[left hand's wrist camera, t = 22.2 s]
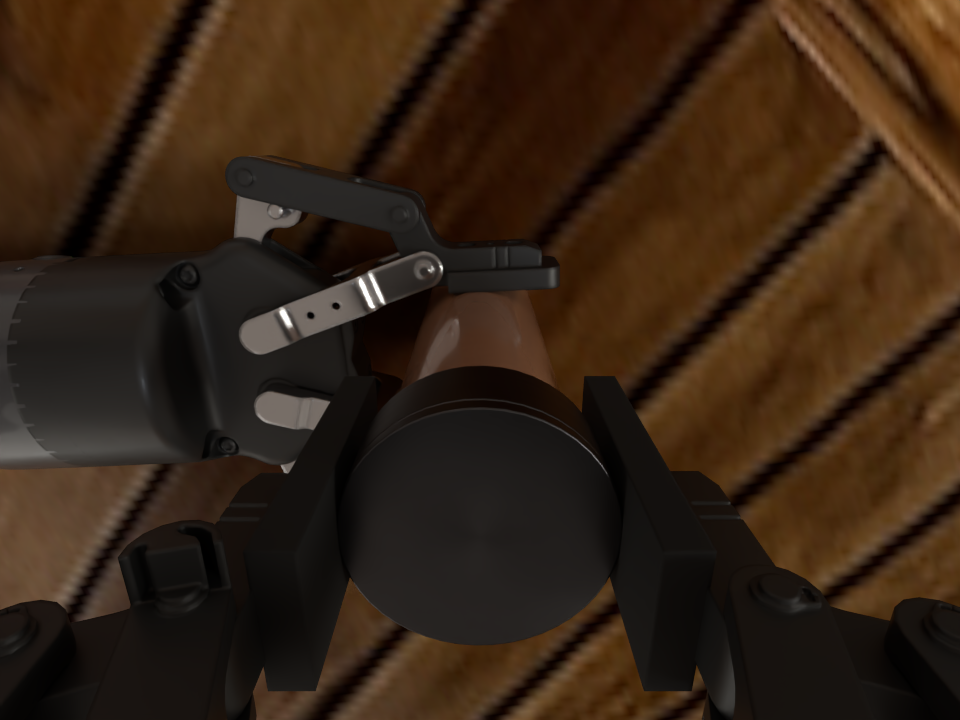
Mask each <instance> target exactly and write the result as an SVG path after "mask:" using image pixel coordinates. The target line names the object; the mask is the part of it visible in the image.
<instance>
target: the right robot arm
mask: <svg viewBox="0 0 960 720" xmlns="http://www.w3.org/2000/svg"><path fill="white" fill-rule="evenodd" d="M225 177H226V182H227V184H228V186H229V188H230V189H231V190H232V191H233V192H234V193H235V194H236V195H237V204H236V217H235V229H234V238H231V239H228V240H225V241H223V242H222V243H220V244H219V245H218V246H216V247H215V248H213V249H212V250H207V251H192V252H173V253H153V254H133V255H113V256H94V257H74V258H72V257H71V256H62V255H48V256H38V257H37V258H33V259H32V260H14V261H3V262H0V469H47V468H71V467H96V466H119V465H140V464H164V463H187V462H201V461H208V460H213V459H217V458H222V457H227V456H233V455H242V456H248V457H251V458H255V459H257V460H260V461H262V462H265V463H267V464H271V465H281V467H282V469H283V471H284V472H285V473H289V472H290V470H291V468H292V466H293V465H294V463H295V461H296V459H297V458H298V456H299V454H300V453H301V451H302V449H303V447H304V446H305V444H306V442H307V441H308V439H309V437H310V435H311V434H312V432H313V430H314V429H315V427H316V425H317V423H318V422H319V420H320V418H321V417H322V415H323V413H324V411H325V410H326V408H327V406H328V405H329V403H330V401H331V399H332V398H333V396H334V394H335V393H336V391H337V389H338V387H339V386H340V384H341V382H342V381H343V379H344V377H345V376H375V380H376V394H377V408H378V412H379V411H380V409H381V408H382V407H383V406H384V405H385V404H386V403H387V402H388V401H389V400H390V399H391V398H392V397H393V396H395V395H396V394H397V393H399V391H400V388H401V385H402V382H403V381H402V380H401V379H400V378H398V377H395V376H392V375H388V374H384V373H380V372H375V371H372V369H371V361H370V358H369V356H368V353H367V351H366V348H365V346H364V344H363V333H364V326H365V315H367V314H369V313H372V312H374V311H376V310H377V309H379V308H381V307H382V306H384V305H386V304H388V303H391V302H394V301H396V300H399V299H402V298H404V297H407V296H410V295H412V294H415V293H418V292H421V291H423V290H426V289H429V288H431V287H433V286H448V294H457V293H472V292H497V291H517V290H537V289H552V288H556V287H559V286H560V265H559V263H558V262H557V260H556V259H555V257H552V256H542V255H541V249H540V248H539V246H538V244H536V243H533V242H531V241H528V240H525V239H510V240H495V241H493V240H491V241H471V242H449V241H446V240H444V239H443V238H441V237H440V236H439V235H438V234H437V233H436V231H435V229H434V228H433V225H432V223H431V221H430V219H429V216H428V214H427V212H426V204H425V201H424V199H423V197H422V196H421V194H419V193H418V192H417V191H415V190H412V189H408V188H404V187H400V186H396V185H392V184H388V183H383V182H379V181H375V180H371V179H367V178H363V177H359V176H355V175H351V174H347V173H342V172H338V171H334V170H330V169H326V168H322V167H318V166H314V165H310V164H306V163H301V162H297V161H293V160H289V159H285V158H281V157H277V156H272V155H267V156H246V157H237V158H235V159H233V160H231V161H230V162H229V164H228V165H227V168H226V172H225ZM308 213H311V214H315V215H319V216H323V217H327V218H332V219H336V220H340V221H344V222H349V223H353V224H357V225H361V226H365V227H370V228H374V229H378V230H382V231H387V232H389V233H390V235H391V237H392V239H393V241H394V243H395V246H396V248H397V250H398V251H396V252H394V253H391V254H388V255H386V256H383V257H377V258H374V259H371V260H368V261H366V262H363V263H361V264H358V265H355V266H353V267H350V268H347V269H345V270H342V271H340V272H337V273H334V274H332V275H331V274H329V273H328V272H326V271H324V270H323V269H321V268H319V267H318V266H316V265H314V264H313V263H311V262H310V261H308V260H306V259H305V258H303V257H301V256H300V255H298V254H296V253H295V252H293V251H291V250H290V249H288V248H286V247H285V246H283V245H282V244H280V243H278V242H277V241H275V240H273V239H272V238H271V236H272V233H273V231H274V230H275V229H276V228H278V227H279V228H289V227H292V226H294V225H296V224H299V223H301V222H302V221H304V220H305V219H306V217H307V215H308Z"/></svg>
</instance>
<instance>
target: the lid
mask: <svg viewBox="0 0 960 720" xmlns="http://www.w3.org/2000/svg"><path fill="white" fill-rule="evenodd" d="M622 528H623V516H622V507H621V504H620V500H619V496H618V492H617V490H616V487H615V485H614V482H613V480H612V477H611V475H610V472H609V470H608V467H607V465H606V462H605V460H604V457H603V455H602V452H601V449H600V447H599V444H598V442H597V440H596V437H595V435H594V433H593V430H592V428H591V426H590V425H589V423H588V422H587V420H586V418H585V417H584V415H583V414H582V413H581V412H580V410H579V409H578V408H577V407H576V406H575V404H574V403H573V402H572V401H570V400H569V399H568V398H567V397H566V396H565V395H564V394H563V393H561V392H560V391H558V390H557V389H555V388H554V387H552V386H551V385H550V384H548V383H546V382H544V381H542V380H540V379H538V378H536V377H534V376H531V375H528V374H525V373H523V372H520V371H516V370H512V369H507V368H502V367H493V366H465V367H458V368H452V369H447V370H444V371H440V372H437V373H433V374H431V375H429V376H426V377H424V378H422V379H419V380H417V381H415V382H414V383H412V384H410V385H409V386H407V387H405V388H404V389H402V390H401V391H400V392H399V393H397V394H396V395H395V396H393V397H392V398H391V399H390V400H389V401H388V402H387V403H386V404H385V405H384V406H383V407H382V408H381V409H380V411H379V412H378V414H377V415H376V416H375V418H374V419H373V420H372V422H371V424H370V426H369V428H368V430H367V432H366V433H365V436H364V438H363V441H362V443H361V446H360V448H359V451H358V453H357V456H356V458H355V461H354V463H353V466H352V468H351V471H350V473H349V476H348V478H347V481H346V483H345V486H344V489H343V492H342V495H341V498H340V500H339V506H338V512H337V532H338V541H339V550H340V554H341V557H342V560H343V563H344V565H345V567H346V570H347V572H348V574H349V576H350V578H351V579H352V581H353V582H354V584H355V585H356V587H357V588H358V590H359V591H360V592H361V593H362V594H363V596H364V597H365V598H366V599H367V600H368V601H369V602H370V603H371V604H372V605H373V606H374V607H375V608H376V609H378V610H379V611H380V612H381V613H382V614H384V615H385V616H387V617H388V618H390V619H391V620H392V621H394V622H395V623H397V624H399V625H401V626H403V627H405V628H407V629H409V630H411V631H413V632H416V633H418V634H421V635H423V636H426V637H429V638H433V639H436V640H440V641H444V642H450V643H456V644H466V645H495V644H503V643H510V642H515V641H519V640H523V639H527V638H530V637H533V636H536V635H539V634H542V633H544V632H546V631H548V630H551V629H553V628H555V627H557V626H559V625H560V624H562V623H564V622H565V621H567V620H569V619H570V618H572V617H573V616H574V615H576V614H577V613H578V612H579V611H581V610H582V609H583V608H585V607H586V606H587V605H588V604H589V603H590V602H591V601H592V600H593V599H594V598H595V597H596V595H597V594H598V593H599V591H600V590H601V589H602V587H603V586H604V585H605V583H606V582H607V580H608V578H609V576H610V575H611V573H612V571H613V569H614V566H615V564H616V561H617V559H618V556H619V552H620V546H621V538H622Z"/></svg>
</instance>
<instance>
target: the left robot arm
mask: <svg viewBox="0 0 960 720" xmlns="http://www.w3.org/2000/svg"><path fill="white" fill-rule="evenodd" d="M377 414H378V408H377V394H376V380H375V376H345V377H344V379H343V381H342V382H341V384H340V386H339V387H338V389H337V391H336V393H335V394H334V396H333V398H332V399H331V401H330V403H329V405H328V406H327V408H326V410H325V411H324V413H323V415H322V417H321V418H320V420H319V422H318V423H317V425H316V427H315V429H314V430H313V432H312V434H311V435H310V437H309V439H308V441H307V442H306V444H305V446H304V447H303V449H302V451H301V453H300V454H299V456H298V458H297V459H296V461H295V463H294V465H293V466H292V468H291V470H290V472H289V473H261V474H259V475H258V476H256V477H255V478H254V479H252V480H251V481H249V482H248V483H247V484H245V485H244V486H242V487H241V488H240V490H239V491H238V492H237V494H236V495H235V497H234V498H233V500H232V501H231V503H230V504H229V507H227V508H226V510H225V511H224V513H223V514H222V515H221V517H220V521H219V522H217V523H216V524H215V525H214V524H213V523H209V522H205V521H201V520H187V521H178V522H174V523H170V524H166V525H162V526H160V527H157V528H155V529H153V530H151V531H149V532H146V533H144V534H142V535H141V536H140V537H138V538H137V539H135V540H134V541H133V542H131V543H130V544H128V545H127V546H126V548H125V549H124V550H123V552H122V553H121V554H120V555H119V557H118V560H119V564H120V567H121V571H122V575H123V578H124V582H125V585H126V589H127V592H128V596H129V600H130V603H131V606H130V609H127V610H124V611H120V612H117V613H113V614H109V615H105V616H100V617H96V618H92V619H87V620H83V621H79V622H74V623H70V621H69V618H68V615H67V612H66V610H65V609H64V608H63V607H62V606H61V605H60V604H58V603H57V602H52V601H45V600H37V601H30V602H23V603H19V604H16V605H13V606H10V607H7V608H4V609H2V610H0V720H256V708H255V701H254V696H253V690H254V688H255V685H256V683H257V680H258V678H259V676H260V673H261V671H262V668H263V666H264V672H265V677H266V683H267V688H268V691H316V688H317V685H318V681H319V678H320V675H321V671H322V668H323V665H324V661H325V658H326V655H327V651H328V648H329V645H330V641H331V638H332V635H333V631H334V628H335V625H336V621H337V618H338V615H339V611H340V608H341V605H342V601H343V598H344V595H345V591H346V588H347V585H348V581H349V578H350V576H349V574H348V572H347V570H346V567H345V565H344V563H343V560H342V557H341V554H340V550H339V541H338V532H337V512H338V506H339V500H340V498H341V495H342V492H343V489H344V486H345V483H346V481H347V478H348V476H349V473H350V471H351V468H352V466H353V463H354V461H355V458H356V456H357V453H358V451H359V448H360V446H361V443H362V441H363V438H364V436H365V433H366V432H367V430H368V428H369V426H370V424H371V422H372V420H373V419H374V418H375V416H376V415H377ZM582 414H583V415H584V417H585V418H586V420H587V422H588V423H589V425H590V426H591V428H592V430H593V433H594V435H595V437H596V440H597V442H598V444H599V447H600V449H601V452H602V455H603V457H604V460H605V462H606V465H607V467H608V470H609V472H610V475H611V477H612V480H613V482H614V485H615V487H616V490H617V492H618V496H619V500H620V504H621V507H622V516H623V528H622V538H621V546H620V552H619V556H618V559H617V561H616V564H615V566H614V569H613V571H612V573H611V575H610V579H611V583H612V586H613V589H614V593H615V596H616V599H617V603H618V606H619V609H620V613H621V616H622V619H623V623H624V626H625V629H626V632H627V636H628V639H629V642H630V646H631V649H632V652H633V656H634V659H635V662H636V666H637V669H638V672H639V676H640V679H641V682H642V686H643V689H644V691H692V686H693V681H694V675H695V670H696V664H697V666H698V669H699V671H700V674H701V676H702V678H703V681H704V683H705V686H706V688H707V690H708V691H707V696H706V701H705V707H704V712H703V717H702V720H960V607H957V606H955V605H952V604H949V603H946V602H943V601H940V600H934V599H927V598H920V597H918V598H912V599H905V600H903V601H901V602H900V603H899V604H898V605H897V606H895V608H894V611H893V614H892V617H891V620H890V621H887V620H883V619H879V618H874V617H870V616H866V615H861V614H857V613H853V612H848V611H844V610H841V609H837V608H834V607H831V606H830V605H829V604H828V602H827V601H826V599H825V598H824V596H823V595H822V593H821V592H820V591H819V590H818V589H817V588H816V587H815V586H813V585H812V584H811V583H810V582H808V581H807V580H806V579H804V578H802V577H800V576H799V575H797V574H795V573H793V572H791V571H789V570H786V569H782V568H779V567H776V566H775V565H774V563H773V562H772V560H771V559H770V558H769V556H768V555H767V553H766V552H765V551H764V549H763V548H762V546H761V545H760V543H759V542H758V541H757V539H756V538H755V536H754V535H753V533H752V532H751V531H750V529H749V528H748V526H747V525H746V523H745V522H744V521H743V520H741V519H740V515H739V513H738V512H737V511H736V509H735V508H734V506H733V505H731V504H730V503H731V502H730V501H729V499H728V498H727V496H726V495H725V494H724V492H723V491H722V489H721V488H720V486H719V485H717V484H716V483H715V482H713V481H712V480H710V479H709V478H708V477H706V476H705V475H703V474H702V473H700V472H699V471H670V470H669V469H668V467H667V465H666V464H665V462H664V460H663V458H662V457H661V455H660V453H659V452H658V450H657V448H656V446H655V445H654V443H653V441H652V440H651V438H650V436H649V434H648V433H647V431H646V429H645V428H644V426H643V424H642V422H641V421H640V419H639V417H638V416H637V414H636V412H635V410H634V409H633V407H632V405H631V404H630V402H629V400H628V398H627V397H626V395H625V393H624V392H623V390H622V388H621V386H620V385H619V383H618V381H617V380H616V378H615V376H584V389H583V403H582Z"/></svg>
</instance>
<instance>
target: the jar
mask: <svg viewBox="0 0 960 720" xmlns="http://www.w3.org/2000/svg"><path fill="white" fill-rule="evenodd" d="M465 366H493V367H502V368H507V369H512V370H516V371H520V372H523V373H525V374H528V375H531V376H534V377H536V378H538V379H540V380H542V381H544V382H546V383H548V384H550V385H551V386H552V387H554V388H555V389H557V390H558V391H560V390H559V387H558V384H557V381H556V378H555V375H554V372H553V368H552V365H551V362H550V359H549V356H548V353H547V350H546V347H545V344H544V341H543V338H542V335H541V332H540V329H539V326H538V322H537V319H536V316H535V313H534V310H533V307H532V304H531V301H530V298H529V295H528V292H527V290H517V291H497V292H472V293H457V294H448V286H434V287H433V290H432V293H431V296H430V299H429V302H428V305H427V308H426V311H425V315H424V318H423V321H422V324H421V327H420V330H419V333H418V336H417V339H416V342H415V345H414V348H413V351H412V354H411V358H410V361H409V364H408V367H407V370H406V373H405V376H404V379H403V382H402V385H401V388H400V391H401V390H402V389H404V388H405V387H407V386H409V385H410V384H412V383H414V382H415V381H417V380H419V379H422V378H424V377H426V376H429V375H431V374H433V373H437V372H440V371H444V370H447V369H452V368H458V367H465ZM400 391H399V392H400Z"/></svg>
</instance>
